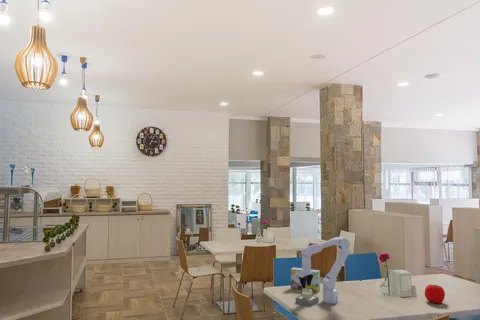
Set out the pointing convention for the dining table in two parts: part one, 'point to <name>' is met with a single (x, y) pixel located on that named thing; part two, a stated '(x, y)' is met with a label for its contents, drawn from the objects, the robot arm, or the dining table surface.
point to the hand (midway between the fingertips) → (306, 286)
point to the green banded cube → (307, 293)
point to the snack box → (314, 283)
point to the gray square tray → (307, 301)
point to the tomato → (434, 293)
